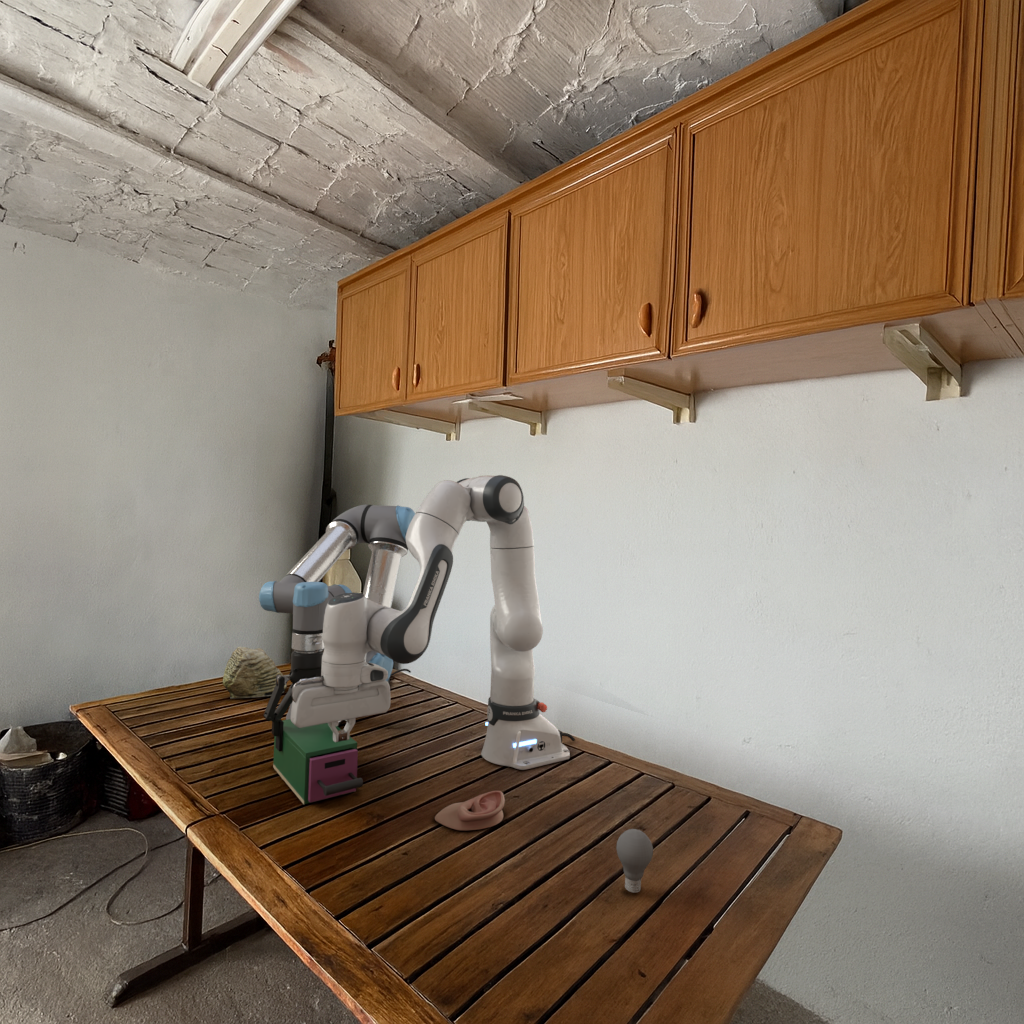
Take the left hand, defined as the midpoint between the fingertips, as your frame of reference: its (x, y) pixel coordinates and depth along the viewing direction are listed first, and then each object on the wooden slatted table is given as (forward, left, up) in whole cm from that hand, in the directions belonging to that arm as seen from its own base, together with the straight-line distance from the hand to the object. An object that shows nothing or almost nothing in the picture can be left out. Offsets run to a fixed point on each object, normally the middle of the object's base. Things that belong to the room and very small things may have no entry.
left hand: (305, 744), depth 146 cm
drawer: (+3, +11, -5) cm, 12 cm away
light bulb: (-11, +79, -6) cm, 80 cm away
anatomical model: (-10, +43, -6) cm, 44 cm away
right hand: (+5, +20, +8) cm, 22 cm away
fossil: (-20, -58, -6) cm, 61 cm away
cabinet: (+1, +5, -6) cm, 8 cm away
